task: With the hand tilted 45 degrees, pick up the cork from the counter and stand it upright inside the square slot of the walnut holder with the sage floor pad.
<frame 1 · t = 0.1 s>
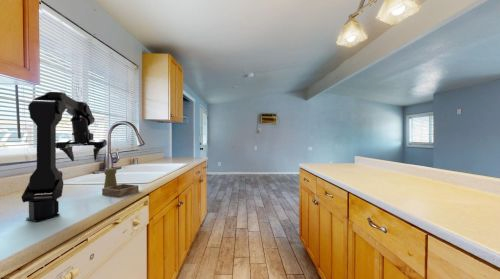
hand: (84, 160, 106), 15 cm above the worktop, tool pointing down, fingers open, 9 cm apart
slot holder: (120, 193, 104), on the worktop
cork: (110, 190, 110), on the worktop
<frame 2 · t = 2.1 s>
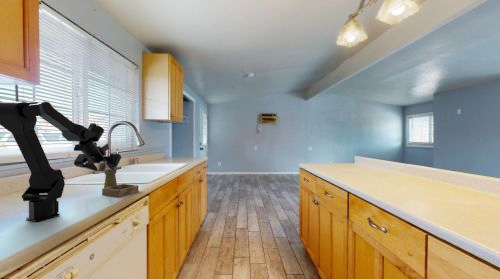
hand: (106, 170, 107), 10 cm above the worktop, tool tilted 45°, fingers open, 9 cm apart
nothing on the worktop moved.
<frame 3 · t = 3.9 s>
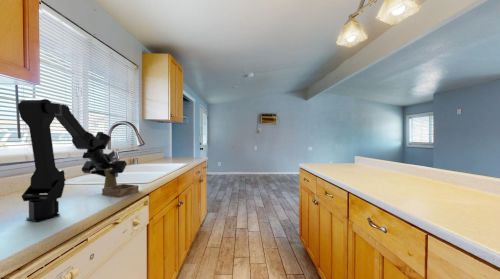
hand: (112, 176, 112), 7 cm above the worktop, tool tilted 45°, fingers closed on cork, 5 cm apart
cork: (110, 190, 110), on the worktop, touching gripper
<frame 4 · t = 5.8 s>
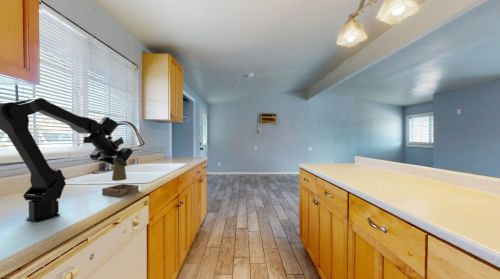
hand: (121, 165, 106), 13 cm above the worktop, tool tilted 45°, fingers closed on cork, 5 cm apart
cork: (119, 179, 105), point 6 cm above the worktop, touching gripper
when the fingers open (8 cm above the worktop, at t = 8.0 s): cork drops 1 cm, resting on slot holder.
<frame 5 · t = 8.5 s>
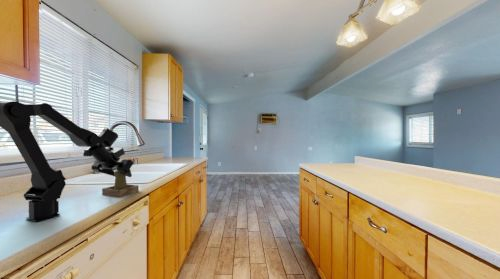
hand: (123, 175, 105), 8 cm above the worktop, tool tilted 45°, fingers open, 9 cm apart
cork: (120, 193, 104), resting on slot holder
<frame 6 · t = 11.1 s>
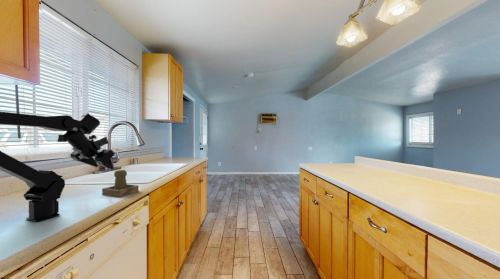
hand: (104, 167, 96), 13 cm above the worktop, tool tilted 45°, fingers open, 9 cm apart
nothing on the worktop moved.
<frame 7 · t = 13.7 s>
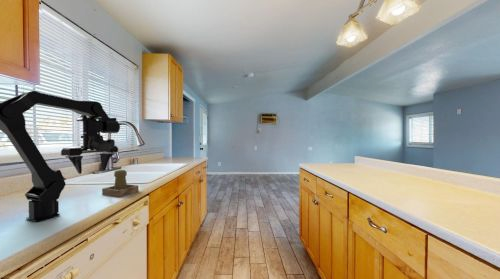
hand: (92, 171, 88), 13 cm above the worktop, tool pointing down, fingers open, 9 cm apart
nothing on the worktop moved.
at the end: cork 0.1 cm off-centre on the slot holder, point 0.0 cm above the slot holder's base; cork tilted 0°; the gripper is holding nothing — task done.
